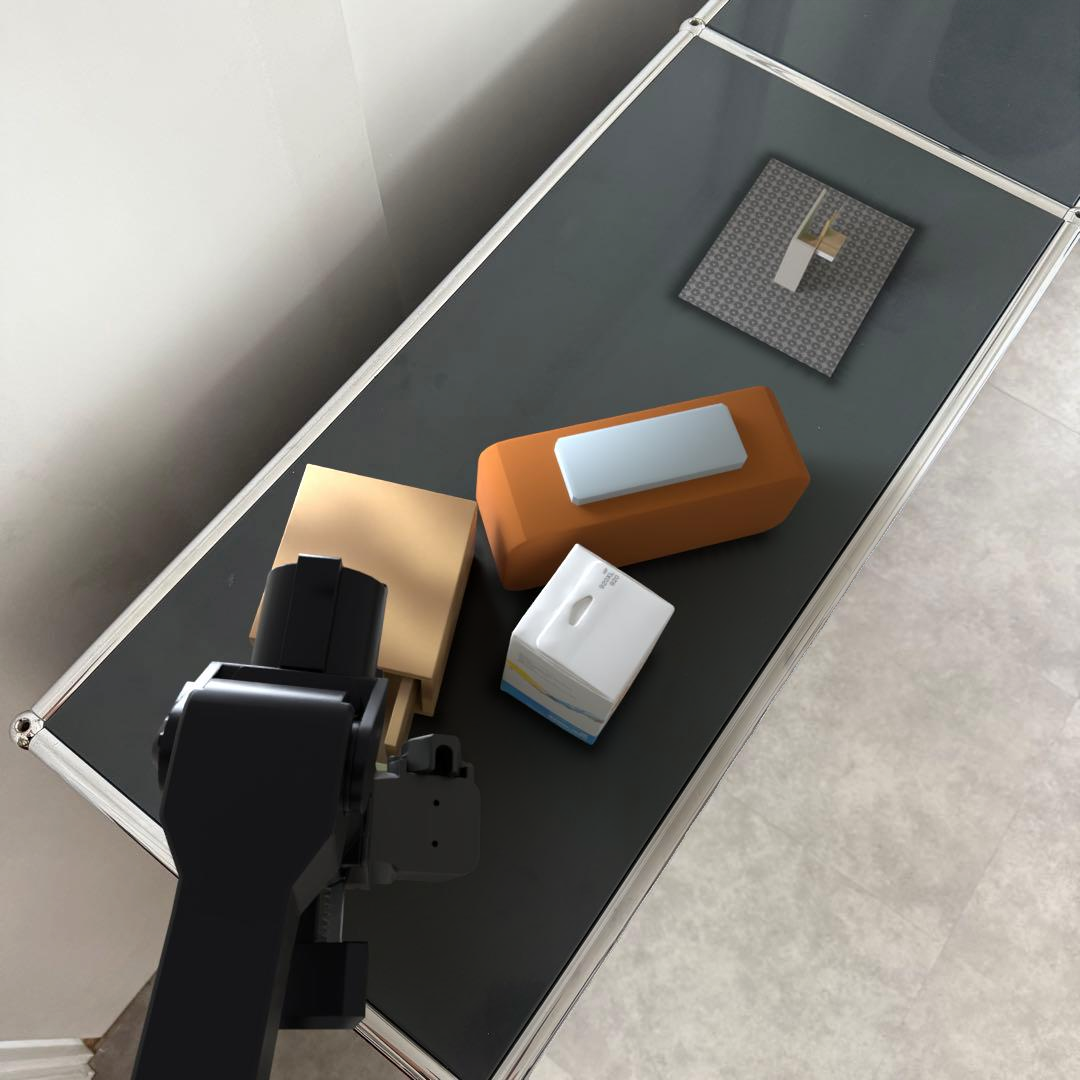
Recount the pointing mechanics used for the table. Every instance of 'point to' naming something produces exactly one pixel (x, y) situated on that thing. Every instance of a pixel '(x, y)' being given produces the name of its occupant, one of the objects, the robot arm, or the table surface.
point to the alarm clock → (639, 484)
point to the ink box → (583, 643)
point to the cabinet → (391, 561)
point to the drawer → (397, 716)
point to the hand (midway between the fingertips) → (329, 858)
